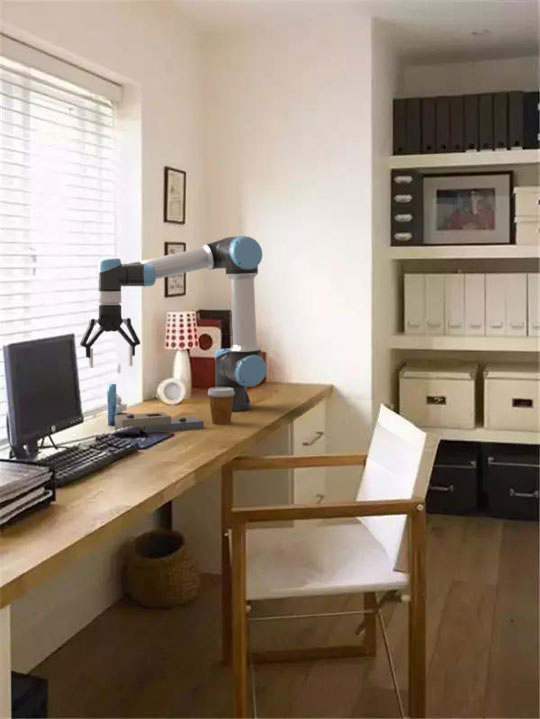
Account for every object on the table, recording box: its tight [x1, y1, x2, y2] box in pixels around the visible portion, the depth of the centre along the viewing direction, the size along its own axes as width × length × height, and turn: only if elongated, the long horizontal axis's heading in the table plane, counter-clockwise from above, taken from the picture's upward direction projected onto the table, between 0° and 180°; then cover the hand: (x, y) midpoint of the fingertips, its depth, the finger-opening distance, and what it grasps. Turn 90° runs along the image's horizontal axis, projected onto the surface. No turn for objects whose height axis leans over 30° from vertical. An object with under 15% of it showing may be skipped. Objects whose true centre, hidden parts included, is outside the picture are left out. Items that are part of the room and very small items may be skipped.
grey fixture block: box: [114, 411, 205, 434], centre depth 291 cm, size 28×9×6 cm, turn 115°
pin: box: [106, 383, 118, 427], centre depth 299 cm, size 3×3×14 cm
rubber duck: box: [116, 393, 128, 415], centre depth 321 cm, size 5×7×8 cm
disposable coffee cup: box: [207, 386, 235, 426], centre depth 302 cm, size 10×10×12 cm
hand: (110, 366), depth 297 cm, fingers open, 13 cm apart
